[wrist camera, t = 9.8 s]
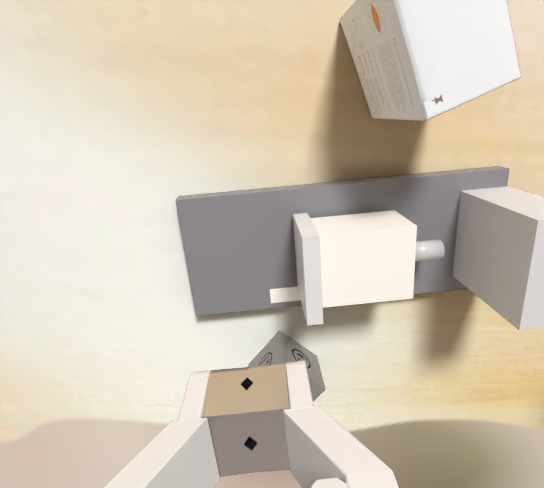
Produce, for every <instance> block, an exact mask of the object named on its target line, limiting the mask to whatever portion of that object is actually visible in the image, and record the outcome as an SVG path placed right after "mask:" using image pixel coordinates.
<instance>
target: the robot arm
mask: <svg viewBox="0 0 544 488" xmlns="http://www.w3.org/2000/svg"><path fill="white" fill-rule="evenodd" d="M286 373H287V374H286ZM277 470H290V471H291V473H292V474H293V476H294V477H295V478H296V480H297V481H298V483H299V484H300V486H301V487H302V488H399V487H398V485H397V482H396V480H395V477H394V474H393V471H392V470H391V469H390V468H389V467H388V466H386V465H385V464H384V463H383V462H382V461H381V460H380V459H378V458H377V457H376V456H375V455H374V454H373V453H372V452H371V451H369V450H368V449H367V448H366V447H365V446H364V445H362V444H361V443H360V442H359V441H358V440H357V439H356V438H355V437H354V436H353V435H351V434H350V433H349V432H348V431H347V430H346V429H345V428H343V427H342V426H341V425H340V424H339V423H338V422H337V421H336V420H334V419H333V418H332V417H331V416H330V415H329V414H328V413H327V412H325V411H324V410H323V409H322V408H321V407H320V406H316V407H314V406H313V401H312V395H311V390H310V384H309V379H308V373H307V367H306V363H305V361H296V362H289V363H286V366H285V364H276V365H267V366H258V367H246V368H233V369H221V370H211V371H200V372H192V373H191V375H190V376H189V380H188V384H187V387H186V391H185V395H184V399H183V402H182V406H181V410H180V414H179V417H178V421H172V422H171V423H170V424H169V425H167V426H166V427H165V428H164V429H163V430H162V431H161V432H160V433H159V434H158V435H157V436H156V437H155V438H154V439H153V440H152V441H151V442H150V443H149V444H148V445H147V446H146V447H145V448H144V449H143V450H142V451H141V452H140V453H139V454H138V455H137V456H136V457H134V458H133V459H132V460H131V461H130V462H129V463H128V464H127V465H126V466H125V467H124V468H123V469H122V470H121V471H120V472H119V473H118V474H117V475H116V476H115V477H114V478H113V479H112V480H111V481H110V482H109V483H108V484H107V485H106V486H105V487H104V488H215V486H216V484H217V483H218V481H219V480H220V477H221V476H229V475H236V474H243V473H252V472H263V471H277Z"/></svg>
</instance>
